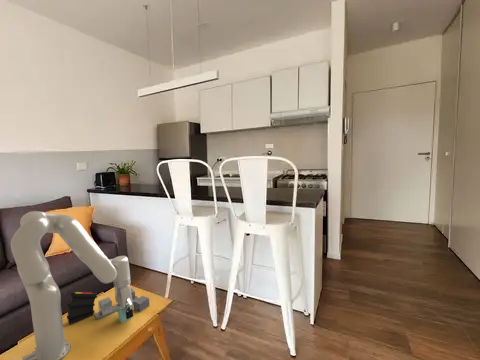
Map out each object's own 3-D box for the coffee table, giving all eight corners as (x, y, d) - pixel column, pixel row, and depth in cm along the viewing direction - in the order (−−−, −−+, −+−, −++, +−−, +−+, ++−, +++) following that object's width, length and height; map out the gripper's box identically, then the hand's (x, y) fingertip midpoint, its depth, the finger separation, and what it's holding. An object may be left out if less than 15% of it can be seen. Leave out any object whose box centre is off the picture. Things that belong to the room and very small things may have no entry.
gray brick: (140, 312, 134) (139, 304, 133) (134, 309, 136) (133, 301, 136) (149, 305, 139) (148, 298, 138) (143, 303, 141) (142, 295, 141)
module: (121, 323, 125) (120, 309, 124) (118, 319, 128) (117, 306, 127) (131, 318, 129) (130, 305, 128) (128, 314, 131) (127, 302, 130)
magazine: (59, 322, 124) (72, 290, 127) (88, 320, 134) (99, 291, 136) (61, 325, 122) (74, 293, 125) (90, 324, 131) (101, 294, 134)
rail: (97, 320, 128) (95, 306, 127) (94, 315, 131) (92, 302, 130) (140, 300, 143) (139, 288, 142) (136, 297, 147) (135, 285, 146)
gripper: (107, 278, 129) (111, 309, 132) (121, 291, 117) (125, 325, 120) (123, 272, 134) (126, 302, 137) (137, 284, 122) (140, 317, 125)
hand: (125, 313), depth 128 cm, fingers open, 9 cm apart
